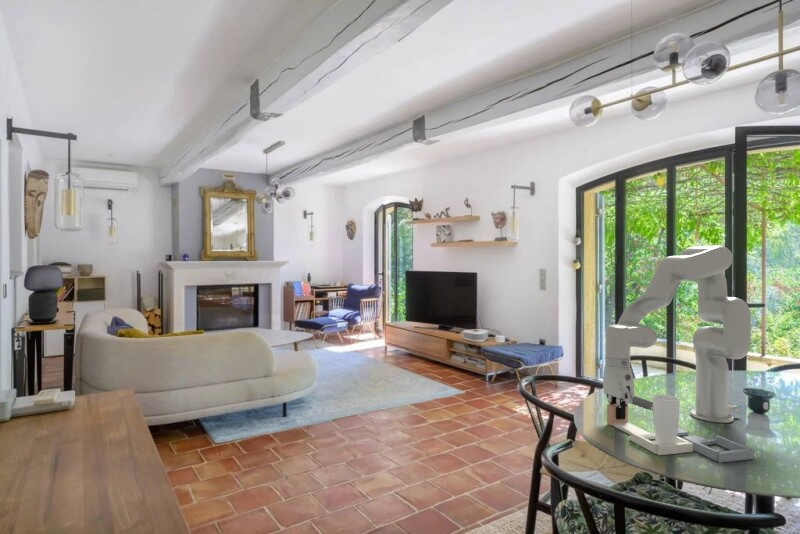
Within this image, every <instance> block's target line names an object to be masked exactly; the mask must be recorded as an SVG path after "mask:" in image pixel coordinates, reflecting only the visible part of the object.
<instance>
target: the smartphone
mask: <svg viewBox="0 0 800 534" xmlns="http://www.w3.org/2000/svg"><path fill="white" fill-rule="evenodd" d="M631 404H633V405H635V406H639V407H640V408H641V407H642V408H644V409H647V410H650V411H653V401H650V400H647V399H644V398H641V397H639V396H636V395H634V398H632V403H631Z"/></svg>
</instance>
